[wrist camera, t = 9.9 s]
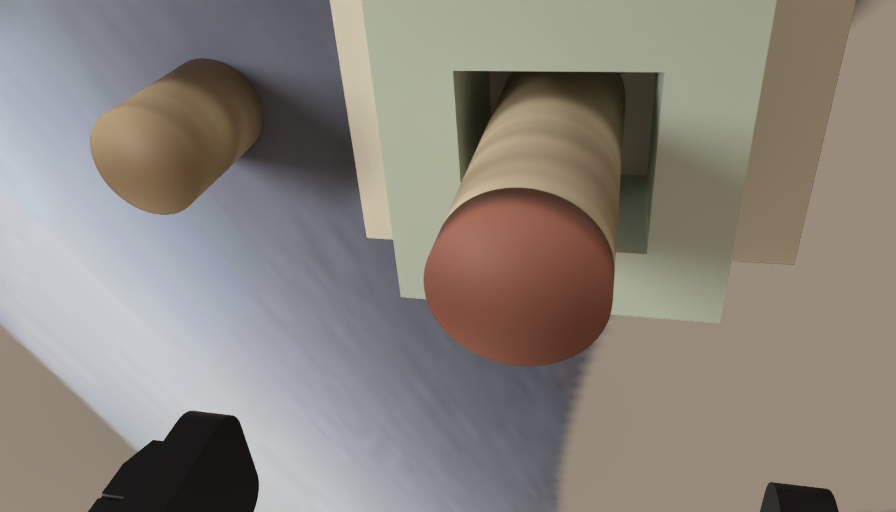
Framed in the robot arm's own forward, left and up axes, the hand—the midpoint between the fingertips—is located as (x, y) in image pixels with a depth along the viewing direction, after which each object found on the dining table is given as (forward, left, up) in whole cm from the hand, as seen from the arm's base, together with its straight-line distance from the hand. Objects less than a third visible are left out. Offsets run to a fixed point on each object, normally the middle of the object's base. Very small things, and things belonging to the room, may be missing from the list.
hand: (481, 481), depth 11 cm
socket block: (0, 0, -17) cm, 17 cm away
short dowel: (+1, -14, -17) cm, 22 cm away
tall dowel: (0, 0, -16) cm, 16 cm away
